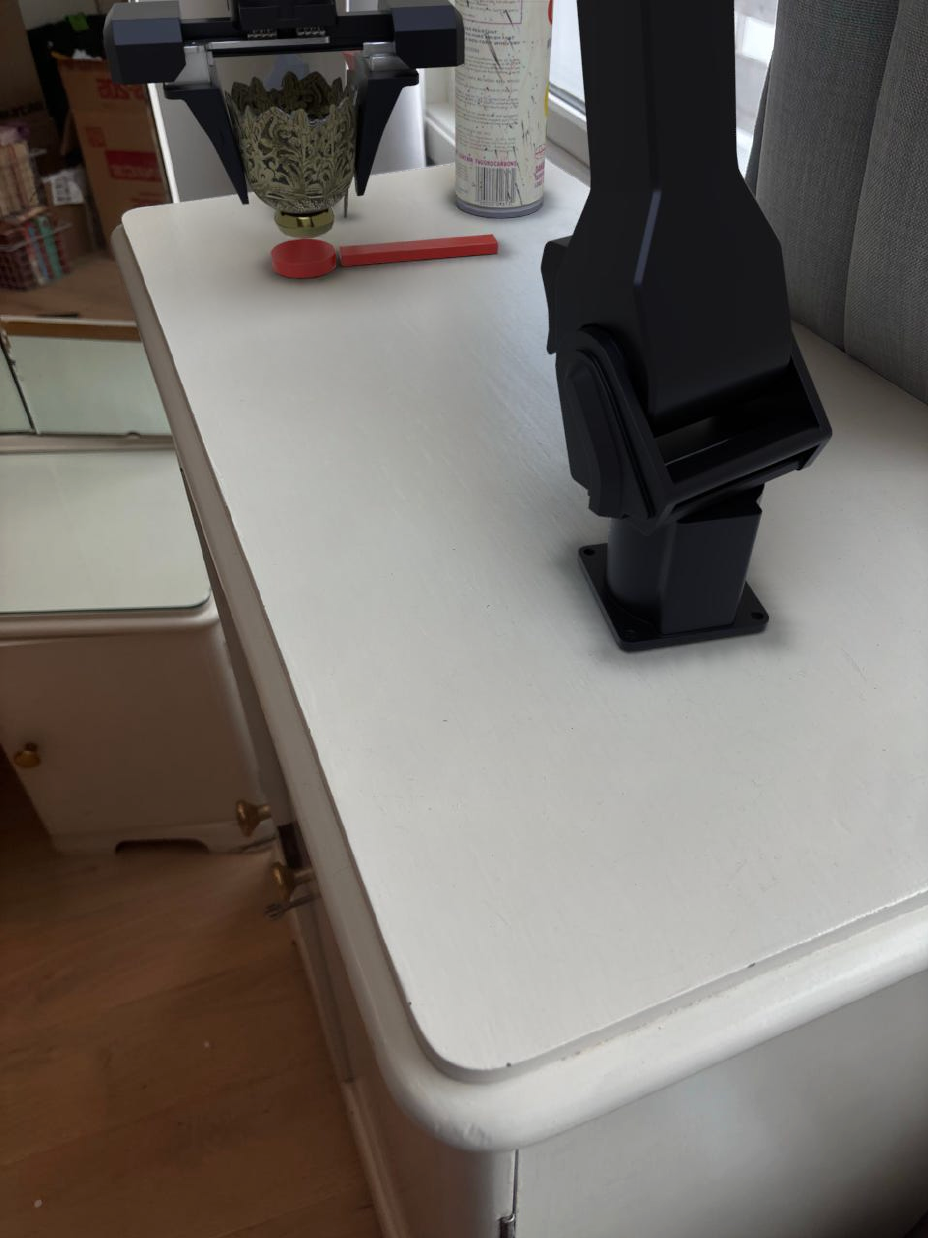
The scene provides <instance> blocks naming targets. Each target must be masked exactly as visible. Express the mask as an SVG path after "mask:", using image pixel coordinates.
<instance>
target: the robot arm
mask: <svg viewBox="0 0 928 1238" xmlns="http://www.w3.org/2000/svg"><path fill="white" fill-rule="evenodd" d="M575 2H576V11H577V25H578V39H579V48H580V51H579V52H580V62H581V63H580V64H581V75H582V87H583V99H584V100H583V101H584V111H585V124H586V125H585V126H586V136H587V146H588V163H589V175H590V176H589V177H590V181H589V183H590V184H589V185H590V186H589V192H588V194H587V197H586V200H585V202H584V205H583V207H582V210H581V212H580V214H579V217H578V220H577V223H576V225H575V227H574V230H573V233H572V234H571V235H566V236H563V237H560V238H555V239H551V240H548V241H547V242H546V243H545V245H544V248H543V252H542V257H541V262H540V274H541V279H542V284H543V288H544V289H543V290H544V293H545V298H546V299H545V300H546V306H547V314H548V316H547V317H548V332H547V333H548V334H547V341H546V348H545V349H546V352H547V354H548V355H550V356H552V355H554V354H555V361H554V368H555V378H556V384H557V386H556V387H557V392H558V398H559V405H560V406H559V407H560V413H561V419H562V426H563V433H564V438H565V439H564V440H565V445H566V452H567V459H568V467H569V472H570V476H571V478H572V479H573V480H574V481H575V483H577V484H579V485H580V486H581V487H583V488H584V489H585V490H586V492H587V494H586V495H587V496H588V497H589V498H588V504H587V505H588V507H587V508H588V510H589V511H591V512H593V514H595V515H596V516H597V517H600V518H609V519H610V521H609V531H608V538H607V542H603V543H595V544H589V545H582V546H581V547H579V548H578V551H577V557H576V559H577V563H578V565H579V566H580V569H581V571H582V573H583V575H584V577H585V579H586V581H587V583H588V585H589V587H590V589H591V591H592V593H593V595H594V597H595V600H596V602H597V604H598V606H599V608H600V610H601V613H602V614H603V616H604V618H605V621H606V623H607V625H608V626H609V630H610V631H611V633H612V635H613V637H614V639H615V641H616V643H617V645H618V646H619V648H621V649H623V650H624V651H625V650H626V651H640V650H646V649H652V648H659V647H665V646H672V645H673V646H674V645H679V644H684V643H691V642H698V641H705V640H712V639H718V638H725V637H731V636H738V635H744V634H751V633H757V632H758V633H759V632H761V631H765V630H766V629H767V627H768V625H769V621H770V615H769V613H768V611H767V610H766V609H765V607H764V606H763V604H762V603H761V601H760V599H759V598H758V596H757V595H756V593H755V592H754V591H753V589H752V587H751V586H750V585H749V583H748V581H747V580H746V579H747V576H748V571H749V567H750V563H751V560H752V555H753V551H754V548H755V543H756V539H757V535H758V531H759V528H760V523H761V519H762V516H763V509H762V507H761V504H762V499H763V495H764V491H765V487H766V483H768V482H770V481H773V480H775V479H778V478H780V477H782V476H784V475H786V474H789V473H792V472H793V471H797V472H799V471H802V470H805V469H807V468H809V467H810V466H812V465H813V463H814V462H815V461H816V459H817V458H818V457H819V455H820V454H821V452H822V451H823V450H824V449H825V447H826V446H827V445H828V443H829V442H830V440H832V437H833V427H832V425H831V423H830V420H829V417H828V415H827V412H826V409H825V407H824V405H823V403H822V400H821V398H820V395H819V393H818V390H817V387H816V385H815V383H814V381H813V378H812V376H811V373H810V371H809V369H808V366H807V364H806V361H805V359H804V356H803V353H802V351H801V349H800V346H799V344H798V342H797V338H796V336H795V334H794V332H793V329H792V317H791V310H790V304H789V294H788V288H787V287H788V286H787V277H786V272H785V271H786V270H785V264H784V256H783V255H784V254H783V247H782V243H781V239H780V238H779V236H778V234H777V232H776V230H775V229H774V227H773V225H772V223H771V222H770V220H769V219H768V217H767V215H766V213H765V212H764V209H763V208H762V206H761V205H760V203H759V201H758V199H757V198H756V196H755V195H754V193H753V191H752V189H751V187H750V186H749V184H748V182H747V180H746V179H745V177H744V176H743V174H742V171H741V169H740V166H739V158H738V142H737V141H738V140H737V139H738V138H737V84H736V83H737V80H736V79H737V78H736V76H737V75H736V25H735V24H736V21H735V20H736V19H735V0H576V1H575ZM376 5H377V6H376V9H377V10H376V9H375V10H373V9H372V10H355V11H354V10H353V11H339V8H338V0H226V6H227V11H229V16H223V17H222V16H220V17H200V18H199V17H198V18H197V17H196V18H183V15H182V11H181V5H180V0H153V1H151V0H150V1H149V0H148V1H133V2H131V1H128V2H126V1H125V2H115V3H114V4H113V5H112V6H111V8H110V10H109V11H108V13H107V15H106V16H105V21H104V27H103V30H102V36H103V45H104V49H105V54H106V59H107V64H108V68H109V73H110V77H111V83H112V84H116V85H121V86H129V85H130V86H131V85H147V84H148V85H149V84H162V92H163V95H164V96H163V97H164V98H165V99H166V100H170V101H183V102H184V103H185V104H186V106H187V107H188V109H189V111H190V112H191V113H192V115H193V116H194V118H195V119H196V121H197V123H198V124H199V126H200V127H201V129H202V130H203V132H204V133H205V134H206V137H208V139H209V141H210V143H211V144H212V146H213V148H214V149H215V151H216V154H217V156H218V158H219V159H220V161H221V164H222V165H223V167H224V170H225V172H226V174H227V176H228V178H229V180H230V182H231V184H232V186H233V188H234V190H235V192H236V194H237V196H238V199H239V201H240V202H241V204H242V205H244V206H245V205H246V206H247V205H250V199H249V192H248V184H247V177H246V175H245V172H244V169H243V165H242V162H241V158H240V155H239V151H238V147H237V143H236V139H235V135H234V131H233V127H232V123H231V119H230V115H229V111H228V107H227V103H226V99H225V98H226V97H225V92H224V89H223V84H222V81H221V78H220V77H221V76H220V73H219V68H218V65H217V61H216V59H221V58H240V57H241V58H242V57H259V56H275V55H280V54H296V55H298V54H316V53H317V54H318V53H338V52H342V51H358V50H360V52H358V53H354V70H355V85H357V90H358V97H359V99H358V114H357V140H356V157H355V167H354V174H353V180H354V181H353V183H354V190H355V194H356V196H357V197H363V196H364V195H365V193H366V190H367V186H368V183H369V180H370V177H371V173H372V170H373V166H374V162H375V160H376V156H377V153H378V150H379V147H380V143H381V140H382V137H383V135H384V132H385V129H386V126H387V124H388V122H389V120H390V118H391V116H392V114H393V111H394V108H395V106H396V104H397V102H398V99H399V97H400V95H401V94H402V93H401V92H402V91H403V90H404V88H406V87H415V86H418V85H419V84H420V72H419V71H418V70H421V69H422V70H423V69H440V68H455V67H457V66H460V65H462V64H465V29H464V23H463V16H462V15H461V14H460V12H459V11H458V10H457V9H456V8H455V5H453V3H452V2H451V1H449V0H377V4H376ZM322 32H323V33H322ZM307 33H308V34H307ZM264 35H265V36H264Z"/></svg>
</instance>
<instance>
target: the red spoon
mask: <svg viewBox="0 0 928 1238" xmlns="http://www.w3.org/2000/svg"><path fill="white" fill-rule="evenodd" d="M498 251H499V242H498V240H497V239H496V237H495V236H494V234H493V233H491V234H481V235H480V234H477V235H466V236H465V235H464V236H454V237H453V236H452V237H442V238H429V239H428V238H427V239H415V240H403V241H392V242H391V241H390V242H380V243H379V242H378V243H377V242H376V243H367V244H354V245H341V246H338V257H339V258H338V259H339V260H340V264H341V267H351V266H362V265H363V266H364V265H373V264H386V263H388V264H389V263H399V262H410V261H423V260H432V259H434V260H435V259H446V258H447V259H448V258H458V257H468V256H469V257H471V256H482V255H494V254H498ZM270 260H271V268H272V270H273V271H274V272H275V273H276V274H278V275H280V276H283V277H287V278H292V279H311V278H316V277H320V276H323V275H326V274H328V273H331V272H332V271H333V270H334V269H336V266H337V253H336V247H335V246H334V245H333V244H332V243H330V242H328V241H325V240H321V239H316V238H295V239H290V240H286V241H283V242H280V243H278V244H276V245H275V246H274V247H272V249H270Z"/></svg>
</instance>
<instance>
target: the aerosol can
mask: <svg viewBox="0 0 928 1238" xmlns="http://www.w3.org/2000/svg"><path fill="white" fill-rule="evenodd" d="M554 3H555V2H554V0H454V7H455V8H456V9H457V10H458V11H459V12H460V14H461V15H462V16H463V23H464V29H465V64H462V65H460V66H457V67H454V110H455V111H454V135H455V136H454V149H455V150H454V159H455V160H454V161H455V163H454V164H455V165H454V169H455V170H454V173H455V176H454V177H455V178H454V180H455V183H454V184H455V185H454V186H455V188H454V190H455V191H454V192H455V196H454V197H455V201H454V202H455V205H456V206H457V207H458V209H460V210H461V211H463V212H466V213H468V214H471V215H474V216H479V217H484V218H485V217H486V218H495V219H496V218H497V219H499V218H500V219H506V218H517V217H521V216H526V215H530V214H532V213H535V212H536V211H538V210H540V209H541V208H542V206H543V204H544V203H543V202H544V187H545V185H544V184H545V168H546V167H545V166H546V152H547V151H546V149H547V148H546V147H547V133H548V132H547V129H548V115H549V114H548V112H549V94H550V93H549V92H550V74H551V56H552V37H553V18H554Z"/></svg>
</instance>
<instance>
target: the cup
mask: <svg viewBox="0 0 928 1238" xmlns="http://www.w3.org/2000/svg"><path fill="white" fill-rule="evenodd" d="M283 79H284V81H283ZM262 81H263V79H261V78H258V77H257V76H253V77H252V78H251V79H250V82H249V85H248V84H246V83H243V82H239V81H233V83H232V86H231V89H230V90H231V91H230V92H228V91H227V90H224V97H225V101H226V105H227V108H228V112H229V116H230V119H231V123H232V127H233V131H234V135H235V139H236V143H237V147H238V151H239V155H240V158H241V162H242V165H243V169H244V172H245V178H246V181H247V182H248V184H249V186H250V188H251V190H252V191H253V193H254V194H255V196H256V197H257V198H258V199H259V200H260V201H261V202H262V203H263V204H264V205H266V206H268V207H269V208H271V209H274V210H275V211H274V216H273V221H274V223H275V225H276V227H277V229H278V231H280V233H282V234H283V235H285V236H287V237H290V238H295V239H315V238H318V237H322V236H323V235H326V234H328V233H329V232H330V231H331V230H332V229H333V227H334V225H335V221H336V212H335V210H334V208H333V206H335V205H337V204H338V203H340V202H341V200H343V199H344V196H345V194H346V193H347V191H348V192H349V189H350V187H351V184H352V182H353V180H354V167H355V157H356V140H357V114H358V99H359V97H358V90H357V85H355V88H354V86H353V82H352V81H349V82H348V83H347V85H346V84H345V87H344V88H343V80H342V77H340V76H338V77H337V78H335V79H333V81H332V84H331V85H330V84H329V83H328V81H327V79H326V77H324V75H323V74H321V73H320V72H319V71H317V70H316V71H312V72H310V74H309V75H307V76H305V77H304V78H302V79H301V80H298V77H297V76H296V74H295V73H293V72H291V71H288V72H287V73H286V74H285V75H284V77H283V78H282V84H281V86H280V87H282V86H283V89H281V90H277V89H275V88H273V87H272V89H271V88H269V89H271V90H270V91H266V90H265V88H264V86H263V83H262ZM283 82H284V85H283Z"/></svg>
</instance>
